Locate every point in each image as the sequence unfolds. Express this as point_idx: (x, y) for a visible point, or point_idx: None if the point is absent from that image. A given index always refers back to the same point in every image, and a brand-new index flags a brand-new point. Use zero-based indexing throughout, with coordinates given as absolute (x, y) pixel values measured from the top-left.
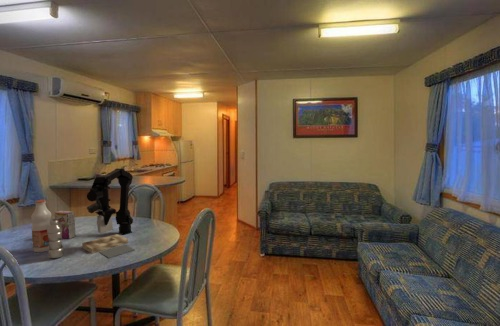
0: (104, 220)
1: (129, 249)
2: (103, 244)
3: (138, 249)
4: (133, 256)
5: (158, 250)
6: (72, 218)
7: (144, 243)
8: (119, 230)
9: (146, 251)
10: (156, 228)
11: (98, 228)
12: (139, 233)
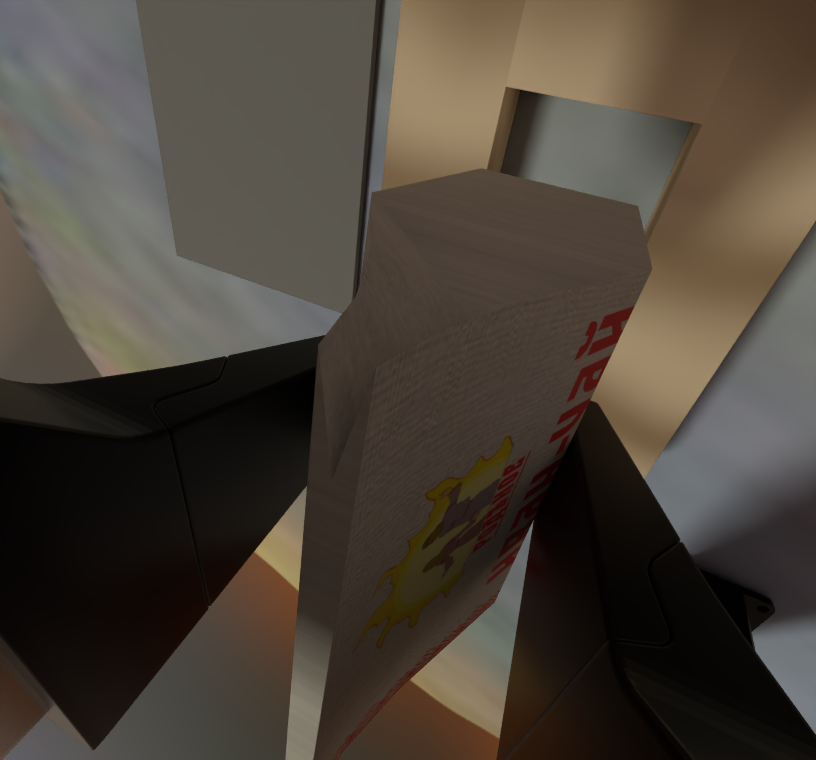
0: (259, 358)
1: (203, 233)
2: (436, 118)
3: (181, 278)
4: (70, 141)
5: (90, 316)
6: None
7: None
8: (726, 608)
9: (113, 270)
10: (476, 668)
11: (578, 206)
12: (508, 581)
